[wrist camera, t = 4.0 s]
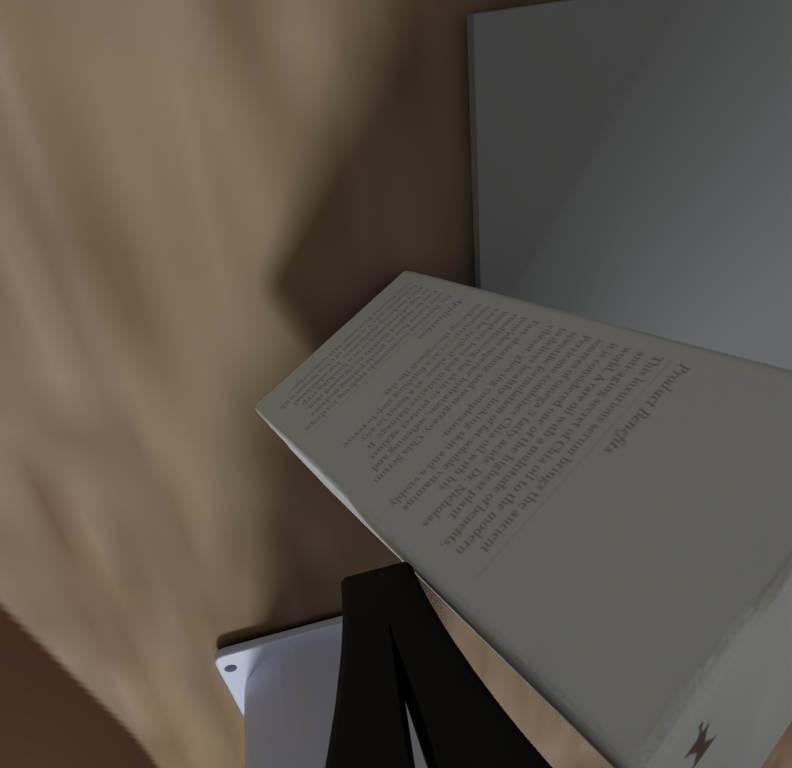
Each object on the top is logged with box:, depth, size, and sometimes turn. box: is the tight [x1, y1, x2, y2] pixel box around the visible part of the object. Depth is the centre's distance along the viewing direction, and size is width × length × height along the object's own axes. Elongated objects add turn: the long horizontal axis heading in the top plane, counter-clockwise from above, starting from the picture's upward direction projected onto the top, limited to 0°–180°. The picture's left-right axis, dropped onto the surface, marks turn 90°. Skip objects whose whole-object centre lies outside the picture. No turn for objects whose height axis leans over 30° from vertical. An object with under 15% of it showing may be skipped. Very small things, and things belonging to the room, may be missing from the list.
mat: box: [466, 0, 792, 370], centre depth 19 cm, size 18×13×1 cm
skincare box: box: [255, 271, 792, 768], centre depth 13 cm, size 6×4×12 cm
